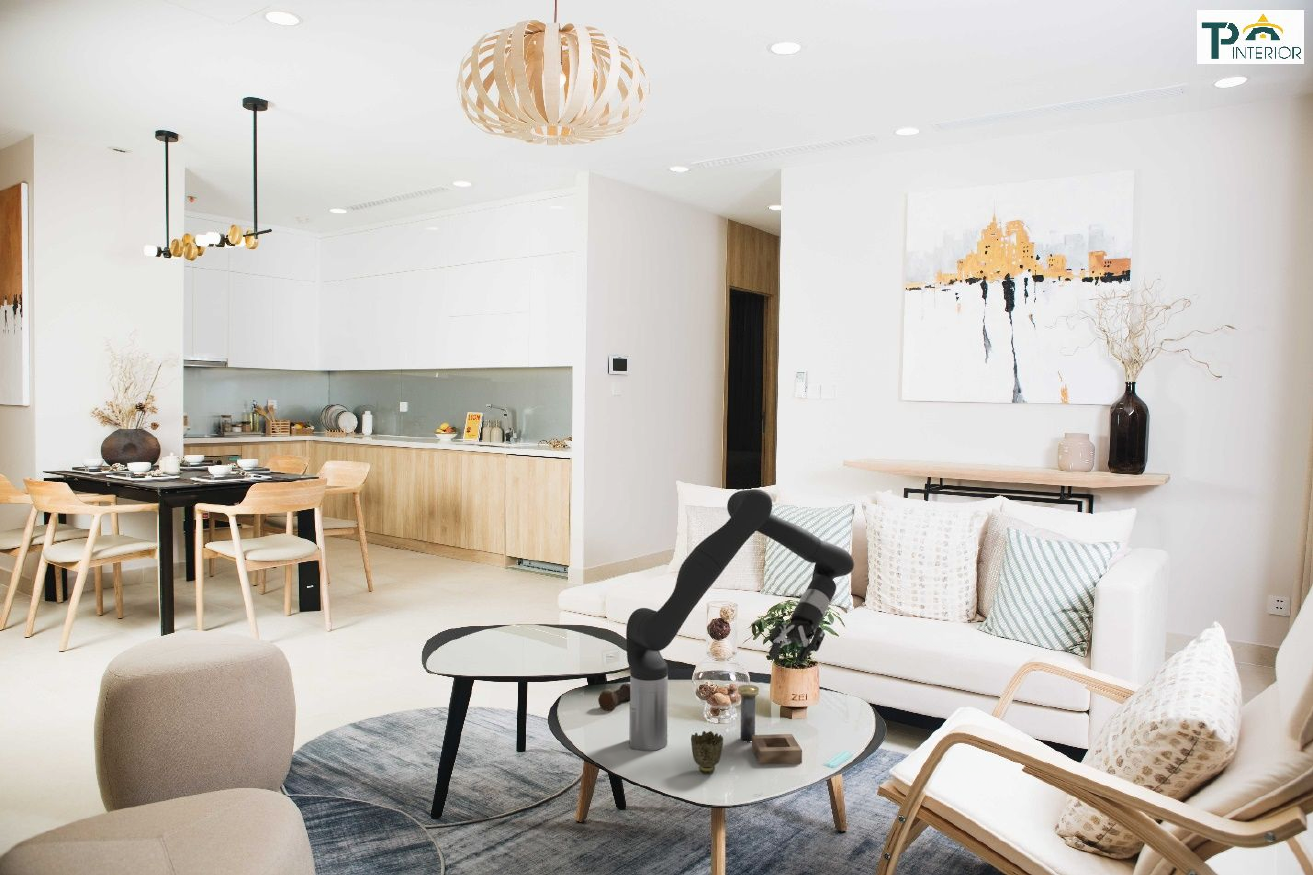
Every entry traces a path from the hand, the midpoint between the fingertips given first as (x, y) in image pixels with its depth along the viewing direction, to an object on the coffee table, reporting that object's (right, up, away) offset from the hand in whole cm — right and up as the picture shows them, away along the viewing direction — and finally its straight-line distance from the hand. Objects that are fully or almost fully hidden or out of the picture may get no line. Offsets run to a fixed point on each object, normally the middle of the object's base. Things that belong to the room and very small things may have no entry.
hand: (785, 659), depth 225 cm
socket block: (-4, -20, -13) cm, 24 cm away
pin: (-10, -19, -4) cm, 22 cm away
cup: (-21, -20, -23) cm, 37 cm away
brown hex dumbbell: (-43, -18, +23) cm, 52 cm away
